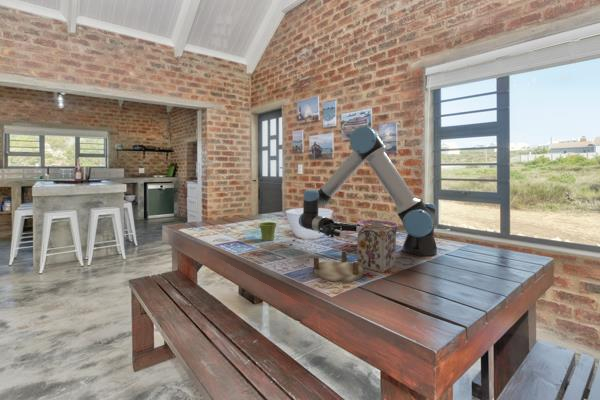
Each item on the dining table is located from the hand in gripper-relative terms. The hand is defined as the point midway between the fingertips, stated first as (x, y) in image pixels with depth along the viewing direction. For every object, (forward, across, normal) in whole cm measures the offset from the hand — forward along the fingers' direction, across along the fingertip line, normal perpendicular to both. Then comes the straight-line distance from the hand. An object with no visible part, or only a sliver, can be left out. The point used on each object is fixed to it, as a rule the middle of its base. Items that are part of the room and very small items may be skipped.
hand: (357, 233), depth 135 cm
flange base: (+7, +18, -12) cm, 22 cm away
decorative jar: (+10, 0, -12) cm, 15 cm away
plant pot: (-53, +11, -12) cm, 55 cm away
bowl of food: (-10, -26, -12) cm, 30 cm away
